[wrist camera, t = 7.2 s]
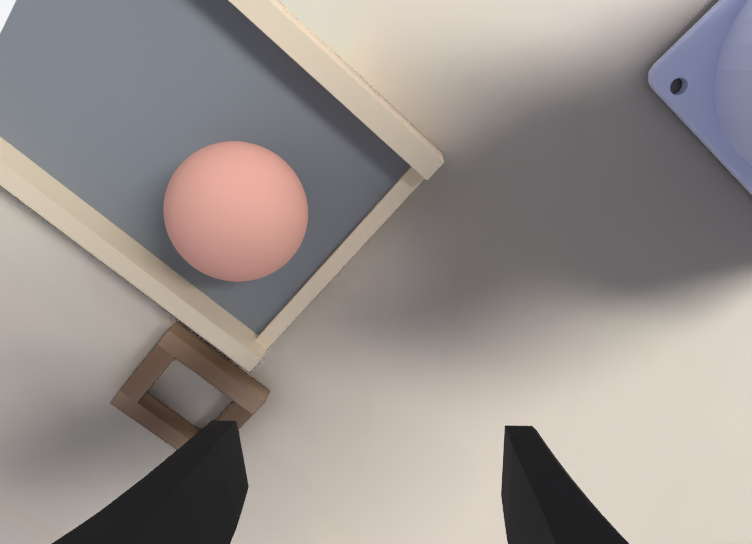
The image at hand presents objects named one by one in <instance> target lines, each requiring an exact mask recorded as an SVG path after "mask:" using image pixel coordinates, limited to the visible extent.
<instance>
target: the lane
mask: <svg viewBox="0 0 752 544" xmlns="http://www.w3.org/2000/svg"><path fill="white" fill-rule="evenodd" d="M226 141H242V142H247V143H252V144H256V145H259V146H262V147H264V148H266V149H268V150H270V151H272V152H273V153H275V154H277V155H278V156H279V157H280V158H282V159H283V160H284V161H285V162H286V163H287V164H288V165H289V166H290V167H291V168H292V169H293V171H294V172H295V174H296V175H297V177H298V178H299V180H300V182H301V184H302V186H303V189H304V191H305V195H306V198H307V204H308V223H307V229H306V232H305V236H304V238H303V240H302V243H301V245H300V247H299V248H298V250H297V252H296V253H295V254H294V255H293V257H292V258H291V259H290V260H289V261H288V262H287V263H286V264H285V265H284V266H283V267H281V268H280V269H278V270H277V271H275V272H273V273H272V274H270V275H267V276H265V277H263V278H259V279H256V280H251V281H244V282H233V281H225V280H220V279H216V278H213V277H210V276H208V275H206V274H204V273H202V272H200V271H198V270H197V269H195V268H194V267H193V266H191V265H190V264H189V263H188V262H187V261H186V260H184V259H183V257H182V256H181V255H180V254H179V253H178V251H177V250H176V249H175V247H174V246H173V244H172V242H171V240H170V238H169V235H168V233H167V230H166V226H165V222H164V213H163V205H164V197H165V193H166V189H167V186H168V183H169V181H170V179H171V177H172V175H173V174H174V172H175V171H176V169H177V168H178V167H179V166H180V165H181V163H182V162H183V161H184V160H185V159H186V158H188V157H189V156H190V155H191V154H193V153H195V152H196V151H198V150H200V149H202V148H203V147H206V146H208V145H211V144H215V143H220V142H226ZM443 163H444V159H443V154H442V153H441V152H440V151H439V150H438V149H437V148H436V147H435V146H433V145H432V144H431V143H430V142H429V141H428V140H427V139H426V138H425V137H424V136H423V135H422V134H421V133H419V132H418V131H417V130H416V129H415V128H414V127H413V126H412V125H411V124H410V123H409V122H408V121H407V120H405V119H404V118H403V117H402V116H401V115H400V114H399V113H398V112H397V111H396V110H395V109H394V108H392V107H391V106H390V105H389V104H388V103H387V102H386V101H385V100H384V99H383V98H382V97H381V96H380V95H378V94H377V93H376V92H375V91H374V90H373V89H372V88H371V87H370V86H369V85H368V84H367V83H366V82H364V81H363V80H362V79H361V78H360V77H359V76H358V75H357V74H356V73H355V72H354V71H353V70H352V69H350V68H349V67H348V66H347V65H346V64H345V63H344V62H343V61H342V60H341V59H340V58H339V57H338V56H336V55H335V54H334V53H333V52H332V51H331V50H330V49H329V48H328V47H327V46H326V45H325V44H323V43H322V42H321V41H320V40H319V39H318V38H317V37H316V36H315V35H314V34H313V33H312V32H311V31H309V30H308V29H307V28H306V27H305V26H304V25H303V24H302V23H301V22H300V21H299V20H298V19H297V18H295V17H294V16H293V15H292V14H291V13H290V12H289V11H288V10H287V9H286V8H285V7H284V6H283V5H281V4H280V3H279V2H278V1H277V0H0V185H1V186H2V187H3V188H5V189H6V190H7V191H9V192H10V193H11V194H13V195H14V196H15V197H17V198H18V199H19V200H21V201H22V202H23V203H25V204H26V205H27V206H29V207H30V208H31V209H33V210H34V211H35V212H37V213H38V214H39V215H41V216H42V217H43V218H45V219H46V220H47V221H49V222H50V223H51V224H53V225H54V226H55V227H57V228H58V229H59V230H60V231H62V232H63V233H64V234H66V235H67V236H68V237H70V238H71V239H72V240H74V241H75V242H76V243H78V244H79V245H80V246H82V247H83V248H84V249H86V250H87V251H88V252H90V253H91V254H92V255H94V256H95V257H96V258H98V259H99V260H100V261H102V262H103V263H104V264H106V265H107V266H108V267H110V268H111V269H112V270H114V271H115V272H116V273H118V274H119V275H120V276H122V277H123V278H124V279H126V280H127V281H128V282H130V283H131V284H132V285H134V286H135V287H136V288H138V289H139V290H140V291H142V292H143V293H144V294H146V295H147V296H148V297H150V298H151V299H152V300H154V301H155V302H156V303H158V304H159V305H160V306H162V307H163V308H164V309H166V310H167V311H168V312H170V313H171V314H172V315H174V316H175V317H176V318H178V319H179V320H180V321H182V322H183V323H184V324H186V325H187V326H188V327H190V328H191V329H192V330H194V331H195V332H196V333H198V334H199V335H200V336H202V337H203V338H204V339H206V340H207V341H208V342H210V343H211V344H212V345H214V346H215V347H216V348H218V349H219V350H220V351H222V352H223V353H224V354H226V355H227V356H228V357H230V358H231V359H232V360H234V361H235V362H236V363H238V364H239V365H240V366H242V367H243V368H244V369H246V370H247V371H248V372H250V371H251V370H252V369H253V368H254V367H255V366H256V365H257V364H258V363H259V362H260V361H261V359H262V357H263V356H264V354H265V352H266V350H267V349H268V348H269V347H270V346H271V345H272V343H273V342H274V341H275V340H276V339H277V338H278V337H279V336H280V335H281V334H282V333H283V332H284V330H285V329H286V328H287V327H288V326H289V325H290V324H291V323H292V322H293V321H294V320H295V319H296V317H297V316H298V315H299V314H300V313H301V312H302V311H303V310H304V309H305V308H306V307H307V306H308V305H309V303H310V302H311V301H312V300H313V299H314V298H315V297H316V296H317V295H318V294H319V293H320V292H321V290H322V289H323V288H324V287H325V286H326V285H327V284H328V283H329V282H330V281H331V280H332V279H333V277H334V276H335V275H336V274H337V273H338V272H339V271H340V270H341V269H342V268H343V267H344V266H345V264H346V263H347V262H348V261H349V260H350V259H351V258H352V257H353V256H354V255H355V254H356V253H357V251H358V250H359V249H360V248H361V247H362V246H363V245H364V244H365V243H366V242H367V241H368V240H369V238H370V237H371V236H372V235H373V234H374V233H375V232H376V231H377V230H378V229H379V228H380V227H381V225H382V224H383V223H384V222H385V221H386V220H387V219H388V218H389V217H390V216H391V215H392V214H393V212H394V211H395V210H396V209H397V208H398V207H399V206H400V205H401V204H402V203H403V202H404V201H405V200H406V198H407V197H408V196H409V195H410V194H411V193H412V192H413V191H414V190H415V189H416V188H417V187H418V185H419V184H420V183H421V182H422V181H423V180H424V179H426V180H427V181H428V179H429V178H430V177H431V176H432V175H433V174H434V173H435V172H436V171H437V170H438V169H439V168H440V167H441V165H442V164H443Z"/></svg>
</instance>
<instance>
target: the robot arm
mask: <svg viewBox="0 0 752 544" xmlns="http://www.w3.org/2000/svg"><path fill="white" fill-rule="evenodd" d="M677 78H679V79H681V81H682V88H681V89H680V91H679V92H678V93H676V94H673V93H672V92H671V90H670V86H671V83H672V82H673V80H675V79H677ZM648 83H649V85H650V87H651V88H652V89H653V90H654V91H655V92H656V93H657V95H658V96H659V97H660V98H661V99H662V100H663V101H664V102H665V103H666V104H667V105H668V106H669V107H670V108H671V109H672V111H673V112H674V113H675V114H676V115H677V116H678V117H679V118H680V119H681V120H682V121H683V122H684V123H685V124H686V126H687V127H688V128H689V129H690V130H691V131H692V132H693V133H694V134H695V135H696V136H697V137H698V138H699V139H700V140H701V142H702V143H703V144H704V145H705V146H706V147H707V148H708V149H709V150H710V151H711V152H712V153H713V154H714V155H715V156H716V158H717V159H718V160H719V161H720V162H721V163H722V164H723V165H724V166H725V167H726V168H727V169H728V170H729V171H730V172H731V174H732V175H733V176H734V177H735V178H736V179H737V180H738V181H739V182H740V183H741V184H742V185H743V186H744V187H745V188H746V190H747V191H748V192H749V193H750V194H751V195H752V0H719V1H718V2H717V3H716V4H715V5H714V6H713V7H712V8H711V9H710V10H709V11H707V12H706V13H705V14H704V15H703V16H702V17H701V18H700V19H699V20H698V21H697V22H696V23H695V24H694V25H693V26H692V27H691V28H690V29H689V30H688V31H687V32H686V33H685V34H684V35H683V36H682V37H681V38H680V39H679V40H678V41H677V42H676V43H675V44H674V45H673V46H672V47H671V48H670V49H669V50H668V51H667V52H666V53H665V54H664V55H662V56H661V57H660V58H659V59H658V60H657V61H656V62H655V63H654V64H653V66H652V67H651V68H650V70H649V73H648ZM247 490H248V481H247V476H246V470H245V465H244V459H243V453H242V448H241V442H240V437H239V431H238V426H237V421H215V420H213V421H211V422H210V423H209V424H207V425H206V426H205V427H204V428H203V429H201V430H200V431H199V432H198V433H197V434H195V435H194V436H193V437H192V438H191V439H189V440H188V441H187V442H186V443H185V444H184V445H182V446H181V447H180V448H179V449H178V450H177V451H175V452H174V453H173V454H172V455H171V456H169V457H168V458H167V459H166V460H165V461H163V462H162V463H161V464H160V465H159V466H157V467H156V468H155V469H154V470H153V471H151V472H150V473H149V474H148V475H147V476H145V477H144V478H143V479H142V480H140V481H139V482H138V483H136V484H135V485H134V486H132V487H131V488H130V489H129V490H127V491H126V492H125V493H123V494H122V495H121V496H119V497H118V498H117V499H116V500H114V501H113V502H112V503H110V504H109V505H108V506H106V507H105V508H104V509H102V510H101V511H100V512H98V513H97V514H95V515H94V516H93V517H91V518H90V519H88V520H87V521H85V522H84V523H82V524H81V525H79V526H78V527H76V528H75V529H73V530H72V531H70V532H69V533H67V534H66V535H64V536H63V537H61V538H60V539H58V540H57V541H55V542H53V543H52V544H230V542H231V540H232V537H233V535H234V533H235V530H236V528H237V524H238V521H239V518H240V515H241V511H242V508H243V504H244V501H245V497H246V494H247ZM501 496H502V504H503V512H504V520H505V527H506V535H507V541H508V544H629V543H628V542H627V541H626V540H625V539H624V538H623V537H622V536H621V535H620V534H619V533H618V532H617V530H616V529H615V528H614V527H613V526H612V525H611V524H610V523H609V522H608V521H607V519H606V518H605V517H604V516H603V515H602V514H601V513H600V512H599V511H598V509H597V508H596V507H595V506H594V505H593V504H592V503H591V501H590V500H589V499H588V498H587V497H586V495H585V494H584V493H583V492H582V490H581V489H580V488H579V487H578V486H577V484H576V483H575V482H574V481H573V480H572V478H571V477H570V476H569V474H568V473H567V472H566V471H565V469H564V468H563V467H562V465H561V464H560V463H559V461H558V460H557V459H556V457H555V456H554V455H553V453H552V452H551V450H550V449H549V448H548V446H547V445H546V443H545V442H544V441H543V439H542V438H541V436H540V435H539V433H538V432H537V430H536V429H535V428H534V427H533V426H505V435H504V454H503V472H502V491H501Z"/></svg>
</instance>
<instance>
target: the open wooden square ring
mask: <svg viewBox="0 0 752 544" xmlns="http://www.w3.org/2000/svg"><path fill="white" fill-rule="evenodd" d="M174 358H176V359H178V360H179V361H181V362H182V363H183V364H185V365H186V366H187V367H189V368H190V369H191V370H193V371H194V372H196V373H197V374H198V375H200V376H201V377H202V378H204V379H205V380H206V381H208V382H209V383H211V384H212V385H213V386H215V387H216V388H217V389H219V390H220V391H221V392H223V393H224V394H226V395H227V396H228V397H230V398H231V399H232V400H234V401H233V402H232V403H231V404H230V405H229V406H228V407H227V408H226V409H225V410H224V411H223V413H222V414H221V415H220V416H219V417H218V418H217V419H216V420H215V421H237V426H238V429H239V428H240V427H241V426H242V425H243V424H244V423H245V422H246V421H247V420H248V419H249V418H250V417H251V416H252V415H253V414H254V413H255V412H256V411H257V410H258V409H259V408H260V407H261V406H262V405H263V404H264V403H265V401H266V399H267V397H268V395H269V393H270V391H269V390H268V389H267V388H265V387H264V386H263V385H261V384H260V383H259V382H257V381H256V380H255V379H253V378H252V377H251V376H249V375H248V374H247V373H245V372H244V371H243V370H241V369H240V368H239V367H237V366H236V365H235V364H233V363H232V362H231V361H229V360H228V359H227V358H225V357H224V356H223V355H221V354H220V353H219V352H217V351H216V350H215V349H213V348H212V347H211V346H209V345H208V344H207V343H205V342H204V341H203V340H201V339H200V338H199V337H197V336H196V335H195V334H193V333H192V332H191V331H189V330H188V329H187V328H185V327H184V326H183V325H181V324H180V323H179V322H176V323H175V324H174V325H173V326H172V327H171V328H170V329H169V330H168V331H167V333H166V334H165V335H164V336H163V337H162V339H161V340H160V341H159V342H158V344H157V345H156V346H155V347H154V349H153V350H152V351H151V352H150V354H149V355H148V356H147V357H146V359H145V360H144V361H143V362H142V364H141V365H140V366H139V367H138V369H137V370H136V371H135V372H134V374H133V375H132V376H131V377H130V378H129V380H128V381H127V382H126V383H125V385H124V386H123V387H122V388H121V390H120V391H119V392H118V393H117V395H116V396H115V397H114V398H113V400H112V401H111V402H110V403H111V404H112V405H114V406H115V407H116V408H118V409H119V410H121V411H122V412H124V413H125V414H126V415H128V416H129V417H131V418H132V419H134V420H135V421H137V422H138V423H139V424H141V425H142V426H144V427H145V428H147V429H148V430H150V431H151V432H152V433H154V434H155V435H157V436H158V437H160V438H161V439H162V440H164V441H165V442H167V443H168V444H170V445H171V446H173V447H174V448H175V449H177V450H178V449H179V448H180V447H181V446H182V445H184V444H185V443H186V442H187V441H188V440H189V439H191V438H192V437H193V436H194V435H195V434H197V433H198V432H199V431H200V430H199V429H197V428H196V427H195V426H193V425H192V424H190V423H189V422H188V421H186V420H185V419H183V418H182V417H181V416H179V415H178V414H176V413H175V412H173V411H172V410H171V409H169V408H168V407H166V406H165V405H164V404H162V403H161V402H159V401H158V400H157V399H155V398H154V397H152V396H151V395H150V394H148V393H147V391H148V389H149V388H150V387H151V386H152V385H153V383H154V382H155V381H156V380H157V379H158V377H159V376H160V375H161V374H162V373H163V371H164V370H165V369H166V368H167V367H168V365H169V364H170V363H171V362H172V361H173V359H174Z"/></svg>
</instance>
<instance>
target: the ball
mask: <svg viewBox="0 0 752 544" xmlns="http://www.w3.org/2000/svg"><path fill="white" fill-rule="evenodd" d="M163 213H164V222H165V226H166V230H167V233H168V235H169V238H170V240H171V242H172V244H173V246H174V247H175V249H176V250H177V251H178V253H179V254H180V255H181V256H182V257H183V259H184V260H186V261H187V262H188V263H189V264H190V265H191V266H193V267H194V268H195V269H197V270H198V271H200V272H202V273H204V274H206V275H208V276H210V277H213V278H216V279H220V280H225V281H233V282H244V281H251V280H256V279H259V278H263V277H265V276H267V275H270V274H272V273H273V272H275V271H277V270H278V269H280V268H281V267H283V266H284V265H285V264H286V263H287V262H288V261H289V260H290V259H291V258H292V257H293V255H294V254H295V253H296V252H297V250H298V248H299V247H300V245H301V243H302V240H303V238H304V236H305V232H306V229H307V223H308V204H307V198H306V195H305V191H304V189H303V186H302V184H301V182H300V180H299V178H298V177H297V175H296V174H295V172H294V171H293V169H292V168H291V167H290V166H289V165H288V164H287V163H286V162H285V161H284V160H283V159H282V158H280V157H279V156H278V155H277V154H275V153H273V152H272V151H270V150H268V149H266V148H264V147H262V146H259V145H256V144H252V143H247V142H242V141H226V142H220V143H215V144H211V145H208V146H206V147H203V148H202V149H200V150H198V151H196V152H195V153H193V154H191V155H190V156H189V157H188V158H186V159H185V160H184V161H183V162H182V163H181V165H180V166H179V167H178V168H177V169H176V171H175V172H174V174H173V175H172V177H171V179H170V181H169V183H168V186H167V189H166V193H165V197H164V205H163Z"/></svg>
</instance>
